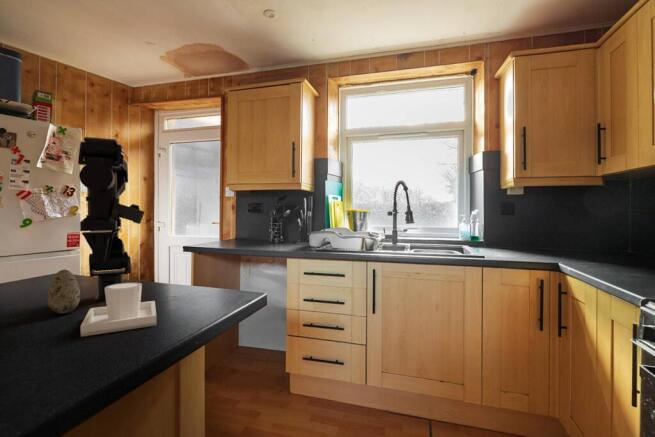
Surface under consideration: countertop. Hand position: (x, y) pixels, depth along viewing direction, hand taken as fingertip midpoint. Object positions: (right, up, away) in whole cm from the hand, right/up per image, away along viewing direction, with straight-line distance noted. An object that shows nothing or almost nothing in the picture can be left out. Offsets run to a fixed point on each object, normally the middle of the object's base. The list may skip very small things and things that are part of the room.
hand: (103, 260), depth 77 cm
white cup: (+9, -12, -6) cm, 16 cm away
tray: (+8, -12, -6) cm, 16 cm away
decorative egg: (-9, -12, -1) cm, 15 cm away
